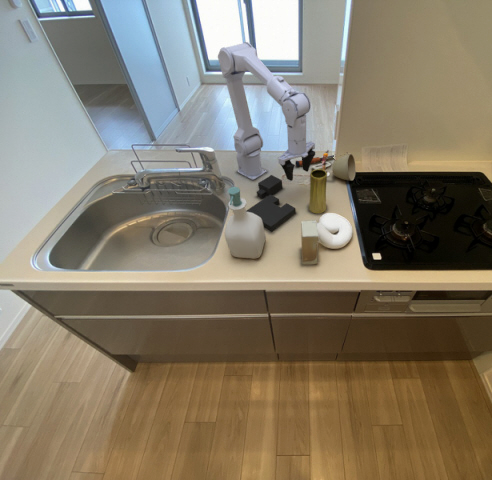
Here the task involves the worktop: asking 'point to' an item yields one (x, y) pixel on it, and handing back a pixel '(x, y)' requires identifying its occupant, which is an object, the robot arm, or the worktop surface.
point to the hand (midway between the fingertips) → (297, 174)
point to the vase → (318, 191)
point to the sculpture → (334, 230)
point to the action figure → (325, 161)
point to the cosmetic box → (309, 241)
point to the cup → (344, 167)
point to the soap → (319, 166)
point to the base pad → (272, 212)
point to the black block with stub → (269, 186)
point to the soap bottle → (243, 229)
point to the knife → (314, 160)
